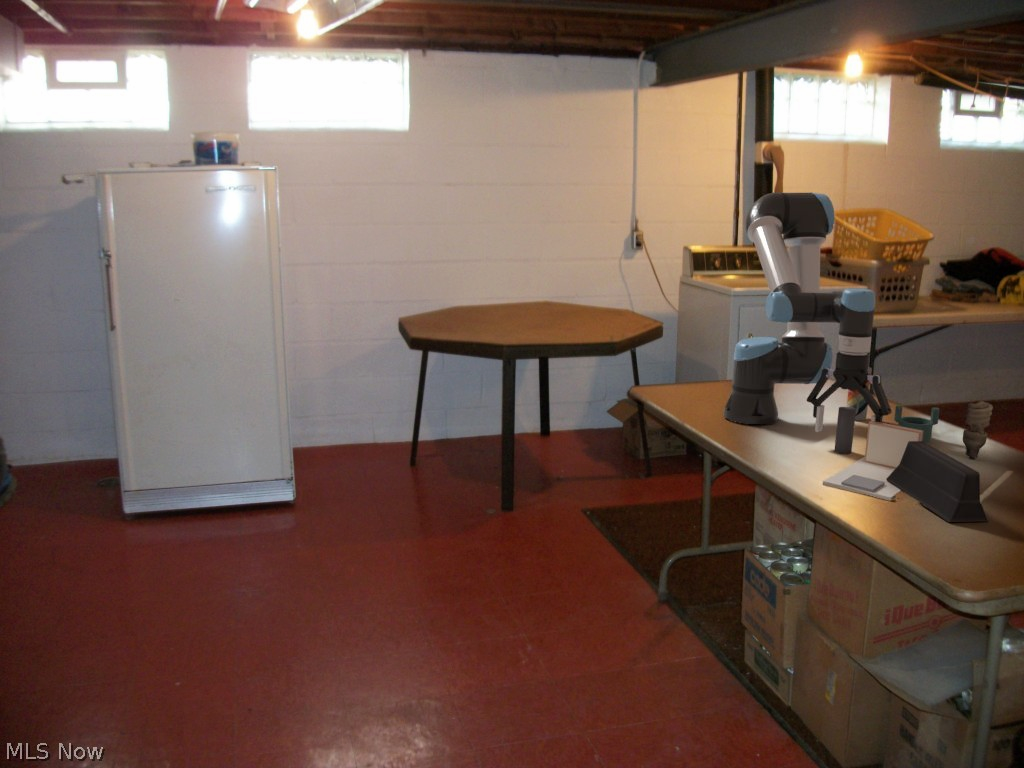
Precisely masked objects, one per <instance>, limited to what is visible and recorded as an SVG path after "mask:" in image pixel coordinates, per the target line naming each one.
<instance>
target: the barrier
mask: <svg viewBox="0 0 1024 768" xmlns="http://www.w3.org/2000/svg"><path fill="white" fill-rule="evenodd" d="M886 480H887V481H888V482H889V483H891V484H892V485H894V486H895V487H897V488H898V489H900V490H901V491H900V492H903V493H904V494H907V495H908V496H909V497H910V498H913V499H914V500H915V501H916V500H917V501H918V503H919V504H921V505H922V506H924V508H925V507H926V508H927V509H928V510H930V511H931V512H932V513H934V514H936V515H937V516H939V517H940V518H942V519H943V520H945V521H946V522H947V523H969V522H971V523H975V522H978V523H979V522H981V523H982V522H989V520H988V518H987V515H986V512H985V510H984V508H983V505H982V503H981V487H980V486H981V483H980V482H981V481H980V480H981V478H980V473H979V471H977V470H975V469H973V468H971V467H970V466H968V465H966V464H964V463H962V462H961V461H960V460H957V459H955V458H954V457H952V456H949V455H948V454H947V453H944V452H943V451H940V450H939V449H937V448H936V447H933V446H932V445H930V444H929V443H925V442H923V441H908V444H907V446H906V449H905V452H904V454H903V457H902V459H901V462H900V464H899V465H898V466H897V468H896V469H895V470H894V471H893V472H892V473H891V474H890V475H889V476H888V478H887V479H886Z"/></svg>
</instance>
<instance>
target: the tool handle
mask: <svg viewBox="0 0 1024 768" xmlns="http://www.w3.org/2000/svg"><path fill="white" fill-rule="evenodd" d="M855 414H856V409H855V408H852V407H847V406H839V407H838V414H837V422H836V423H837V424H836V433H835V442H834V452H835V453H836V454H840V455H851V454H852V449H853V441H854V431H855V422H856V421H855Z"/></svg>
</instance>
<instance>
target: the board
mask: <svg viewBox="0 0 1024 768" xmlns="http://www.w3.org/2000/svg"><path fill="white" fill-rule="evenodd" d="M864 460H865V456H863V457H862V458H860V459H858V460H856V461H854V462H853V463H852V464H850V465H847V466H846V467H845V468H842V469H841V470H839V471H838V472H836V473H833V475H831V476H829V477H827V478H826V479H824V480H822V485H824V486H827V487H831V488H837V489H840V490H844V491H848V492H852V491H853V493H856V492H857V494H860V493H861V494H860V495H864V494H866V495H865V496H868V495H870V496H869V497H872V496H873V498H876V497H877V499H881V500H885V501H889V502H891V501H893V500H894V499H895V498H897V496H895V495H897V494H898V493H900V492H902V491H901V490H900V489H898V488H897V487H895V486H894V485H892V484H891V483H889V482H888V481H887V480H886V479H887V478H888V476H889V475H890V474H891V473H892V472H893V471H894V470H895V468H890V467H886V466H881V465H877V464H872V463H868V462H864Z"/></svg>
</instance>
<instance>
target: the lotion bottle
mask: <svg viewBox="0 0 1024 768" xmlns="http://www.w3.org/2000/svg"><path fill="white" fill-rule="evenodd" d="M867 354H869V361H870V357H871V351H870V352H868V353H867ZM868 375H872V367H870V365H869V366H868ZM865 384H866V385H867V387H868V388H869V391H870V390H871V383H870V381H869V380H868V381H867V382H866V383H865ZM870 392H871V391H870ZM846 399H847V400H846V407H852V408H855V409H856V414H855V420H856V421H857V422H862V421H866V420H867V415H868V410H869V409H868V408H869V405H868V404H867V402H866V401H865V399H864V398H863V396H862V395H861V394H860V393H859V392H858V390H855V391H851V390H849V389H847V398H846ZM856 421H855V422H856Z"/></svg>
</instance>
